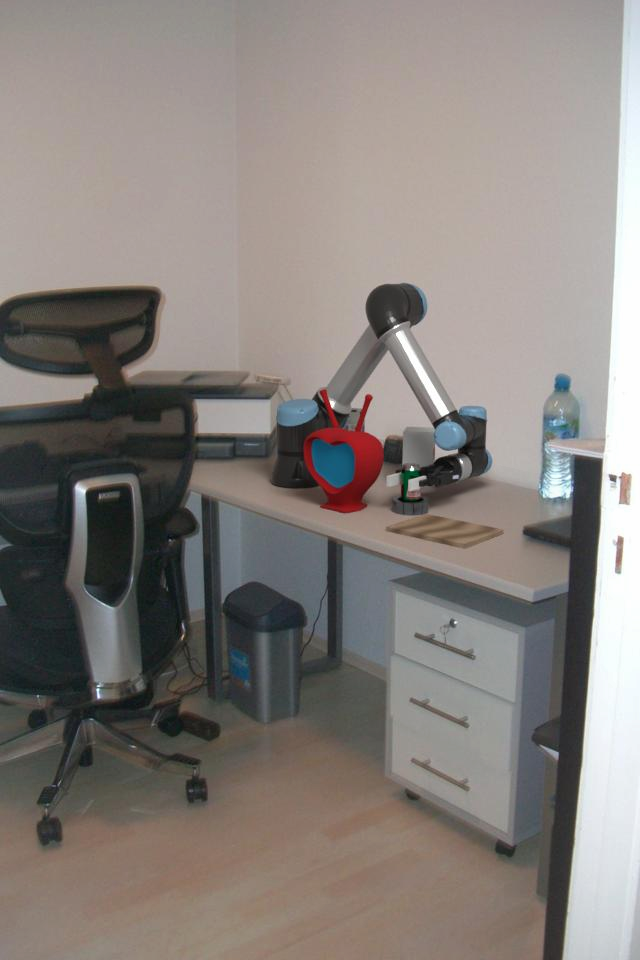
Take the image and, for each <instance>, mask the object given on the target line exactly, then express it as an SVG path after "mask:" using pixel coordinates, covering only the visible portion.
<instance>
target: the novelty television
mask: <svg viewBox="0 0 640 960" xmlns="http://www.w3.org/2000/svg"><path fill="white" fill-rule="evenodd" d="M319 393H320V395H321V396H322V398H323V401H324V403H325V406H326V409H327V412H328V414H329V417H330V420H331V423H332V427H333V428H325V429H321V430H318V431H315V432H313V433H312V434H310V435H309V436H308V437H307V438H306V440H305V442H304V446H303V451H304V458H305V462H306V465H307V468H308V470H309V472H310V473H311V475H312V476H313V478H314V479H315V480H316V481H317V482H318V484H319V485H318V486H319V487H320V488H321V490H322V491H323V492H324V494H325V496H326V498H327V501H328V502H325V503H322V504H321V505H319V507H320V508H321V509H325V510H330V511H334V512H337V511H338V513H341V512H342V514H350V513H356V512H360V511H362V510H364V509H365V508H367V506H368V503H366V502H362V501H363V499H364V497H365V494H366V493H367V492H368V491H369V490H370V488H371V487H372V486H373V485H374V484H375V483H376V481H377V480H378V478H379V476H380V475H381V472H382V468H383V465H384V461H385V460H384V458H385V454H384V445H383V444H382V442H381V441H380V440H379V439H378V438H377V436H375V435H373V434H371V433H369V432H366V431H365V432H363V431H361V429H362V425H363V422H364V419H365V418H366V416H367V412H368V411H369V407H370V404H371V402H372V400H373V399H374V396H373V395H372V394H370V393H368V394H365V397H364V402H363V405H362V408H361V409H362V411H361V414H360V417H359V420H358V422H357V425H356V427H355V431H348V430H346V429H343V428H339V425H338V423H337V421H336V418H335V415H334V413H333V410H332V407H331V404H330V402H329V399H328V395H327V390H326V389H323V390H321V391H319ZM365 420H366V419H365Z"/></svg>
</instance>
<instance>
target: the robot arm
mask: <svg viewBox="0 0 640 960" xmlns="http://www.w3.org/2000/svg"><path fill="white" fill-rule="evenodd" d="M364 309H365V315H366V318H367V321H368V323H369V324H368V326H367V327H366V328H365V330H364V332H362V334H361V336H360V337H359V339H358V340H357V342H356V343H355V345H354V346H353V347H352V349H351V351H350V352H349V353H348V355H347V356H346V358H345V359H344V361H343V362H342V363H341V365H340V367H339V368H338V369H337V371H336V373H335V374H334V375H333V377H332V378H331V380H330V381H329V383H328V384H327V386H323V387H319V388H318V390H317V391H316V393H315V394H314V395H313V397H312V399H311V398H310V399H309V398H297V399H296V398H295V399H290V400H286V401H284V402H281V403H280V404H279V405H278V406H277V409H276V418H275V421H276V446H277V447H276V450H277V451H276V460H275V463H274V467H273V472H272V473H271V484H272V485H273V486H274V485H275V486H277V487H281V488H291V489H292V488H294V489H295V488H296V489H297V488H298V489H299V488H300V489H301V488H310V487H317V486H320V485H319V484H318V482H317V481H316V480H315V479H314V478H313V476H312V475H311V473H310V472H309V470H308V468H307V465H306V462H305V458H304V451H303V446H304V442H305V440H306V438H307V437H308V436H309V435H310V434H312V433H313V432H315V431H318V430H321V429H325V428H333V427H332V423H331V420H330V417H329V414H328V412H327V409H326V406H325V403H324V401H323V398H322V396H321V395H320V393H319V391H321V390H323V389H326V390H327V395H328V399H329V402H330V404H331V407H332V410H333V413H334V415H335V418H336V421H337V423H338V425H339V428H343V429H345V427H346V426H347V423H348V419H349V417H348V415H349V414H350V412H351V410H352V408H353V407H352V406H351V405H352V404H351V403H353V401H354V400H355V399H356V396H357V395H358V393H360V391H361V389H362V388H363V387H364V385H365V384H366V383H367V381H368V380H369V378H370V377H371V375H372V374H373V373H374V371H375V369H376V368H377V367H378V365H379V364H380V363H381V361H382V360H383V358H384V357H385V355H386V354H387V353H388V352H389V353H390V355H391V356H392V358H393V360H394V362H395V363H396V365H397V367H398V368H399V370H400V372H401V373H402V375H403V377H404V379H405V380H406V382H407V384H408V385H409V388H410V389H411V390H412V392H413V394H414V396H415V397H416V400H417V401H418V403H419V404H420V406H421V408H422V410H423V411H424V413H425V415H426V416H427V419H428V420H429V422H430V423H431V425H432V426H433V427H432V428H434V429H435V432H434V440H435V445H436V446H437V447H438V448H440V449H441V450H443V451H446V452H447V451H448V452H450V451H456V450H457V452H455V453H450V454H448V455H444V456H441V457H438V458H435V462H434V463H433V464H432V465H429V466H424V467H421V466H420V468H421V477H417V478H414V479H410V480H408V491H413V490H416V489H420V488H421V489H424V488H427V487H429V488H430V487H433V486H434V487H435V488H440V487H442V486H448V485H452V484H459V482H462V481H465V480H468V479H472V478H477V477H479V476H482V475H484V474H487V472H488V471H490V470H491V467H492V465H493V458H492V454H491V453H490V451H489V450H488V449H487V446H486V445H487V443H486V442H487V422H488V418H487V409H486V408H485V407H484V406H481V405H480V406H479V405H463V406H461V407H460V408H459V409H458V410H457V408H456V406H455V405H454V402H453V401H452V398H451V397H450V396H449V394H448V392H447V391H446V388H445V387H444V385H443V384H442V381H441V380H440V379H439V377H438V375H437V374H436V371H435V370H434V368H433V366H432V364H431V363H430V361H429V360H428V358H427V356H426V354H425V352H424V351H423V350H422V347H421V346H420V344H419V343H418V340H417V339H416V337H415V335H414V333H413V332H412V330H411V328H412V327H414V326H416V325H418V324H419V323H421V322H422V321H423V320H424V318H425V317H426V315H427V311H428V301H427V297H426V295H425V293H424V292H423V290H422V289H421V288H420V287H418V286H417V285H415V284H413V283H412V284H411V283H408V282H400V283H384V284H381V285H378V286H376V287H375V288H373V289H372V290H371V292H370V293H369V294H368V296H367V297H366V301H365V307H364ZM397 485H401V468H399V469H396V470H395V473H394V474H389V475H386V487H387V488H390V487H391V488H392V487H393V486H397Z"/></svg>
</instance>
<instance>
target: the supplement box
mask: <svg viewBox="0 0 640 960" xmlns="http://www.w3.org/2000/svg"><path fill="white" fill-rule="evenodd" d="M434 432H435V429H434V427H427V426H426V427H425V426H421V427H420V426H406V427H405V428H404V430H403V431H402V461H401V462H402V464H401V465H402V466H401V468H402V467H403V464H405V463H416V464H419V465H420V466H421V467H424V466H429V465H432V464H433V463H434V462H435V460H436V443H435V440H434Z"/></svg>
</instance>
